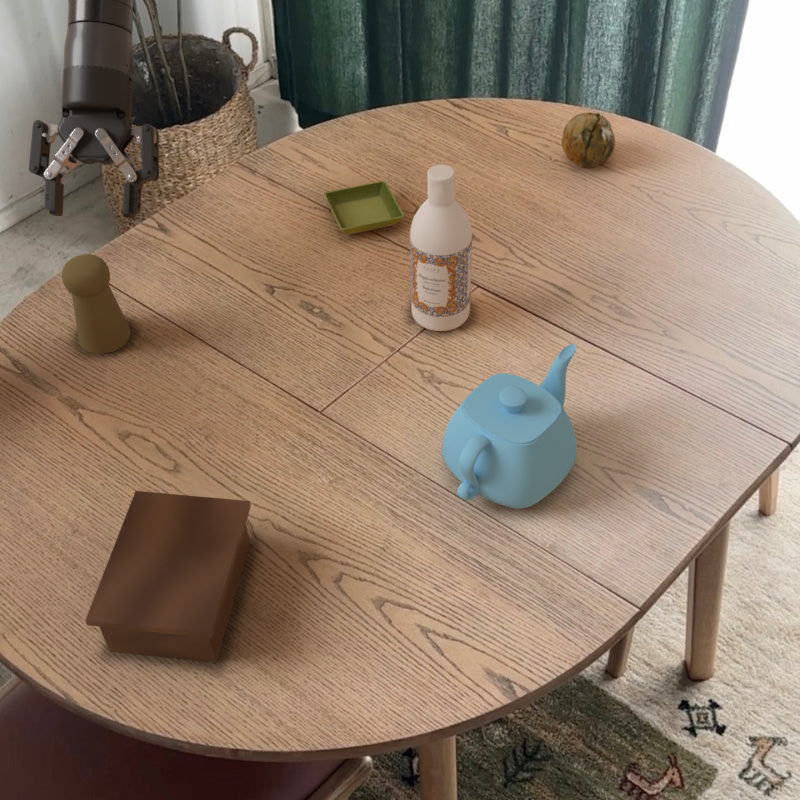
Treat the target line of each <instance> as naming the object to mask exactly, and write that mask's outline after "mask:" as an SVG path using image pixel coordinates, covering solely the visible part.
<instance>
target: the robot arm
mask: <svg viewBox="0 0 800 800" xmlns="http://www.w3.org/2000/svg"><path fill="white" fill-rule="evenodd" d="M67 1H68V2H67V3H68V4H67V5H68V6H67V29H66V36H65V40H64V46H63V48H64V49H63V68H62V69H63V70H62V90H61V91H62V96H61V115H62V116H61V119H60V121H59V122H58V124H56V123H48V122H47V123H46V122H44V121H42V120H40V119H36V120H35V121H33V123H32V129H31V130H32V131H31V140H30V152H29V160H28V163H29V164H28V170H29V173H31V174H34V175H36V176H38V177H40V178H42V179H43V180H44V182H45V183H44V185H45V186H44V187H45V188H44V206H45V209H46V210H47V211H48V212H49V215H51V216H54V217H62V216H63V214H64V193H65V192H64V191H65V184H64V183H63V181H64V180H65V178H66V177H67V176H68V174H69V173H70V172H71V171H73V170H75V169H76V168H77V166H78V165H79V163H82V164H84V165H93V164H98V163H99V164H103V165H110V166H111V165H112V164H115V166H116V167H117V168H118V169H119V171H120V172H121V174H122V175H123V176H124V178H125V180H126V183H123V202H122V216H123V218H124V219H126V220H136V216H137V215H140V213H141V210H142V209H141V208H142V207H141V206H142V188H143V186H144V185H145V184H147V183H150V182H156V181H157V182H158V180H159V179H160V134H159V130H158V129H157V128H156V127H154V126H153V125H151V124H150V123H147V122H145V123H144V124H142V125H139V126H137V125H136V126H133V124H132V121H131V118H132V103H133V82H134V81H133V79H134V74H135V65H134V47H133V21H134V0H67ZM58 136H59V137H60V139H61V141H62V143H63V144H62V145H61V147H59V149H58V150H57V152H56V153H55V154H54V156H53V157H54V158H53V160H52V161H51V163H50V157H51V146H52V144H54V143H55V141H56V139H57V137H58ZM134 138H136V142H137V144H139V145H140V146H141V169H138V168H137V167H136V165H135V163H134V161H133V160H132V159H131V158H132V157H130V156H129V154H128V153H127V150H126V149H127V147H129V145H130V144H131V143H132V141H133V140H134Z"/></svg>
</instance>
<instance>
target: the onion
mask: <svg viewBox="0 0 800 800" xmlns="http://www.w3.org/2000/svg"><path fill="white" fill-rule="evenodd" d="M560 142H561V146H562V151H563V153H564V154H565V156H566V158H567V159H568V160H569V161H570V162H572V163H573V164H574V165H576V166H578V167H581V168H589V169H590V168H595V167H598V166H600V165H602V164H605V163H606V162H608V160H609V159H610V158H611V156H612V155H613V153H614V150H615V149H616V135H615V133H614V130H613V128H612V124H611V122H610V121H609V120H608V119H607V118H606V117H605V116H604V115H601V114H600V112H598V113H596V112H591V111H590V112H587V111H585V112H581V113H578V114H576V115H574V116H573V117H572V118H571V119H569V121H568V122H567V123H566V124H565V126H564V129H563V132H562V135H561V141H560Z"/></svg>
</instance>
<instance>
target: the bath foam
mask: <svg viewBox="0 0 800 800" xmlns="http://www.w3.org/2000/svg"><path fill="white" fill-rule="evenodd" d="M426 180H427V183H426V184H427V198H426V200H425V201H424V202H423V203H422V204H421V206H420V207H419V208H418V209H417V211H416V213H415V214H414V216H413V218H412V222H411V225H410V231H409V260H410V262H409V263H410V264H409V265H410V267H409V268H410V269H409V270H410V298H411V299H410V301H411V315H412V318H413V319H414V321H415V322H416V323H417V324H418V325H419V326H421V327H422V328H424V329H427V330H430V331H435V332H447V331H452V330H454V329H457V328H460V327H461V326H462V325H463V324H464V323H465V322H466V321H467V319H468V318H469V315H470V314H471V313H470V311H471V293H472V292H471V291H472V263H473V262H472V260H473V259H472V258H473V255H472V254H473V231H472V230H473V229H472V225H471V221H470V217H469V216H468V214H467V212H466V210H465V209H464V208H463V206H462V205H461V204H460V203H459V201H458V200H457V199H456V195H455V194H456V172H455V169H454V168H453V167H452V166H450V165H447V164H435V165H433V166H431V167H429V169H428V170H427V178H426Z"/></svg>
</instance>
